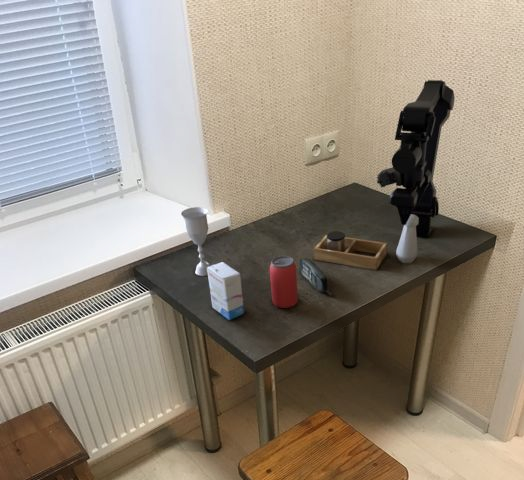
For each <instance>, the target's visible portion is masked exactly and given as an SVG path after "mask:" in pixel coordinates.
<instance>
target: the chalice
mask: <svg viewBox="0 0 524 480" xmlns="http://www.w3.org/2000/svg"><path fill="white" fill-rule="evenodd" d="M208 211H209V210H208V209H207V208H204V207H200V206H195V207H189V208H186V209H183V210H182V211H181V213H180V215H181V216H182V218H183V222H184V226H185V232H186V234H187V235H188V237H189V238H190V241H192V242H193V244H194V245H197V246H198V247H197V252H198V253H199V255H198V258H199V260H200V262H199V263H197V264H196V268H195V274H196V275H197V276H201V277H203V276H208V272H207V268H208V267H209V266H211V265H210V263H208V262H207V261H206V260H205V257H206V255H205V254H204V248H203V247H202V246H203V244H205V242H206V239H207V237H208V232H209V224H208V216H207V215H208Z"/></svg>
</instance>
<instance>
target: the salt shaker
mask: <svg viewBox="0 0 524 480" xmlns="http://www.w3.org/2000/svg"><path fill="white" fill-rule="evenodd" d="M418 222H419V218H418V217H417V216H416V215H413V214H411V215H410V217H409V219H408V221H407V223H406V225H403V227H402V230H401V235H400V238H399V241H398V243H397V248H396V251H395V254H396V257H397V260H398V261H399V262H400V263H402V264H411V263H413V262H414V261H415V260H416V258H417V256H418V254H419V253H418V236H416V226H417V225H418Z"/></svg>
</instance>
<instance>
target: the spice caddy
mask: <svg viewBox="0 0 524 480" xmlns="http://www.w3.org/2000/svg"><path fill="white" fill-rule="evenodd" d="M327 234H328V233H327ZM327 234H325V235H324V236H323V238H322V239H321V240H320V241H319V243H318V244H317V245H316V246H315V247H314V248H313V260H315V261H320V262H326V263H332V264H338V265H344V266H350V267H355V268H363V269H368V270H375V271H376V270H378V268H379V266H380V265H381V264H382V262H383V261H384V259H385V258H386V256H387V253H388V243H387V242H384V241H383V242H382V241H375V240H368V239H361V238H354V237H347V236H345V252H339V251H333V250H327ZM357 252H361V253H368V254H375V256H370V255H364V254H358V253H357Z"/></svg>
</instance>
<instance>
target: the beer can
mask: <svg viewBox="0 0 524 480" xmlns="http://www.w3.org/2000/svg"><path fill="white" fill-rule="evenodd" d="M270 261H271V262H270V266H269V277H270V289H271V290H270V291H271V301H272V304H273V306H275V307H277V308H281V309H288V308H292V307H293V306H295V305H296V304H297V303H298V301H299V300H298V299H299V297H298V296H299V295H298V277H297V276H298V275H297V266H296V265H297V264H296V263H295V260H294V258H293V257H291V256H288V255H279V256H275V257H273V258H272V259H271V260H270Z"/></svg>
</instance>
